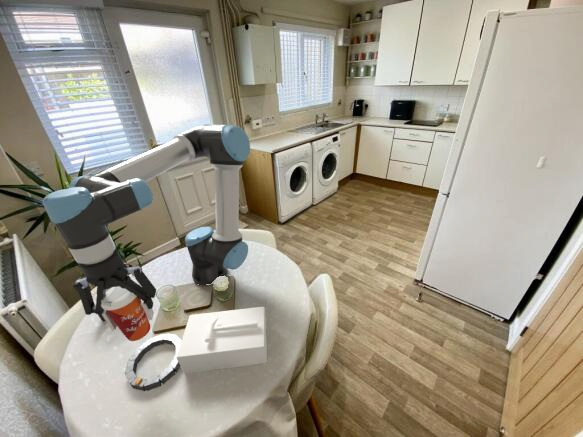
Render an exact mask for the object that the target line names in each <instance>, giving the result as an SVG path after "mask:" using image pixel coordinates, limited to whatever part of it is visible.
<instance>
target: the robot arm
mask: <svg viewBox="0 0 583 437" xmlns="http://www.w3.org/2000/svg"><path fill="white" fill-rule="evenodd" d="M250 154H251V142H250V140H249V136H248V134H246V132H245V130H244V129H243V128H242V127H241V126H238V125H231V124H201V125H198V126H197V125H196V126H194V127H191V128H189V129H187V130H185V131H182V132H181V133H178V134H176V135H174V136H173V139H172V140H170V141H168V142H167V143H164V144H161V145H159V146H157V147H154V148H152V149H151V150H148V151H146V152H144V153H142V154H139V155H137V156H135V157H132V158H130V159H127V160H126V161H123V162H121V163H119V164H117V165H114V166H113V167H110V168H108V169H105V170H103V171H100V172H98V173H96V174H93V175H82V176H78V177H75V178H74V179H73V180H71V181H70V183H69V186H68V188H65V189H58V190H56V191H52V192H50V193H49V194H47V195H45V197H43V200H42V205H43V207H44V210H45V212H46V213H47V215H48V218H49V221H50V222H52V224H53V225H54V227H55V229H56V231H57V232H58V233H59V235H60V236H61V238H62V239H63V241H64V243H65V244H66V246H67V248H68V250H69V252H70V253H71V255H72V256H73V259H74V260H75V262H76V263H78V267H79V268H80V270H81V271H82V273H83V275H84V276H85V277H81V276H79V277H78V278H77V279H76V280H75V283H74V284H73V285H72V287H73V288H74V289H75V290H76V291H77V292H78V295H79V299H80V301H81V304H82V307H83V309H84V314H85V315H87V316H89V315H92V314H96V315H98V317H99V319H100V321H101V322H103V323H104V321H106V322H107V325H108V326H109V328H110V330H111V331H112V332H113V331H116V330H117V327H118V326H117V325H116V323H115V322H114V321H113V319H112V318H111V316H110V315H109V314H108V312H107V311H106V310H104V309H103V308H102V307H101V304H102V302H101V300H103V298H104V296H105V293H106V289H109V288H112V287H118V286H120V287H121V288H123V289H124V288H125V289H126V290H128V291H129V292H131V293H134V295H136V296H137V297H138V298H140V299H141V301H142V302H141V305H142V307H143V309H144V311H145V313H146V315H147V317H148V320H149V321H153V317H154V312H155V311H154V309H153V307H154V301H153V299H154V298H155V297H156V293H157V288H156V287H155V286H154V284H153V282H151V280H150V279H149V277H148V276H147V275H146V274H145V273H144V272H143V268H142V265H141V264H140V263H139V264H136V265H135V266H131V267H130V266H127V265H126V264H125V263H124V260H123V257H122V256H121V254H120V252H119V250H118V248H116V244H115V242H114V241H113V240H114V239H113V238H112V236H111V234H110V231H109V229H108V227H107V226H108V225H109V224H111V223H114V222H116V221H118V220H120V219H123V218H125V217H128V216H129V215H132V214H134V213H136V212H138V211H142V210H143V209H144V208H146V207H149V206H151V204H153V202H154V195H153V191H152V189H151V187H150V186H149V185H148V184H147V182H149V181H150V180H152V179H154V178H156V177H157V176H160V175H161V174H163V173H165V172H167V171H169V170H171V169H173V168H175V167H176V166H178V165H180V164H182V163H185V162H186V161H187V162H192V161H194V160H196V159H199V158H200V159H201V158H209V164H210V166H211V167H212V168H213V169H214V194H215V195H214V198H215V199H214V200H215V202H214V204H215V231H214V229H213V227H212V226H200V227H197V228H194V229H193V230H191V231H190V232H188V233H187V234H186V236H185V238H184V242H185V246H186V248H187V251H188V254H189V257H190V260H191V263H192V270H191V277H192V281H193V282H194V284H196V285H197V284H199V285H198V286H200V285H206V284H211V283H212V282H213V281H214V280H215V279H216V278H217V277H219V276H224V275H225V276H227V272H228V269H229V270H233V271H234V270H237V269H238V268H240V267H241V266H242V265H243V264H244V262H245V261H246V260H247V256H248V254H249V245H248V244H247V242H245V241H243V233H242V232H241V231H240V230H239V217H240V216H239V215H240V214H239V213H240V212H239V211H240V210H239V209H240V208H239V203H240V202H239V198H240V197H239V196H240V191H239V190H240V169H242V167H243V166H244V161H246V160H247V159H248V158H249V155H250ZM128 274H131V276H129V275H128ZM132 277H133V278H135V281H134V280H133V279H132ZM89 284H90V285H93V286H95V287H96V294H97V299H96V305H95V304H94V301H93V297H94V296H93V294H92V291H91V287H90V285H89Z"/></svg>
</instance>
